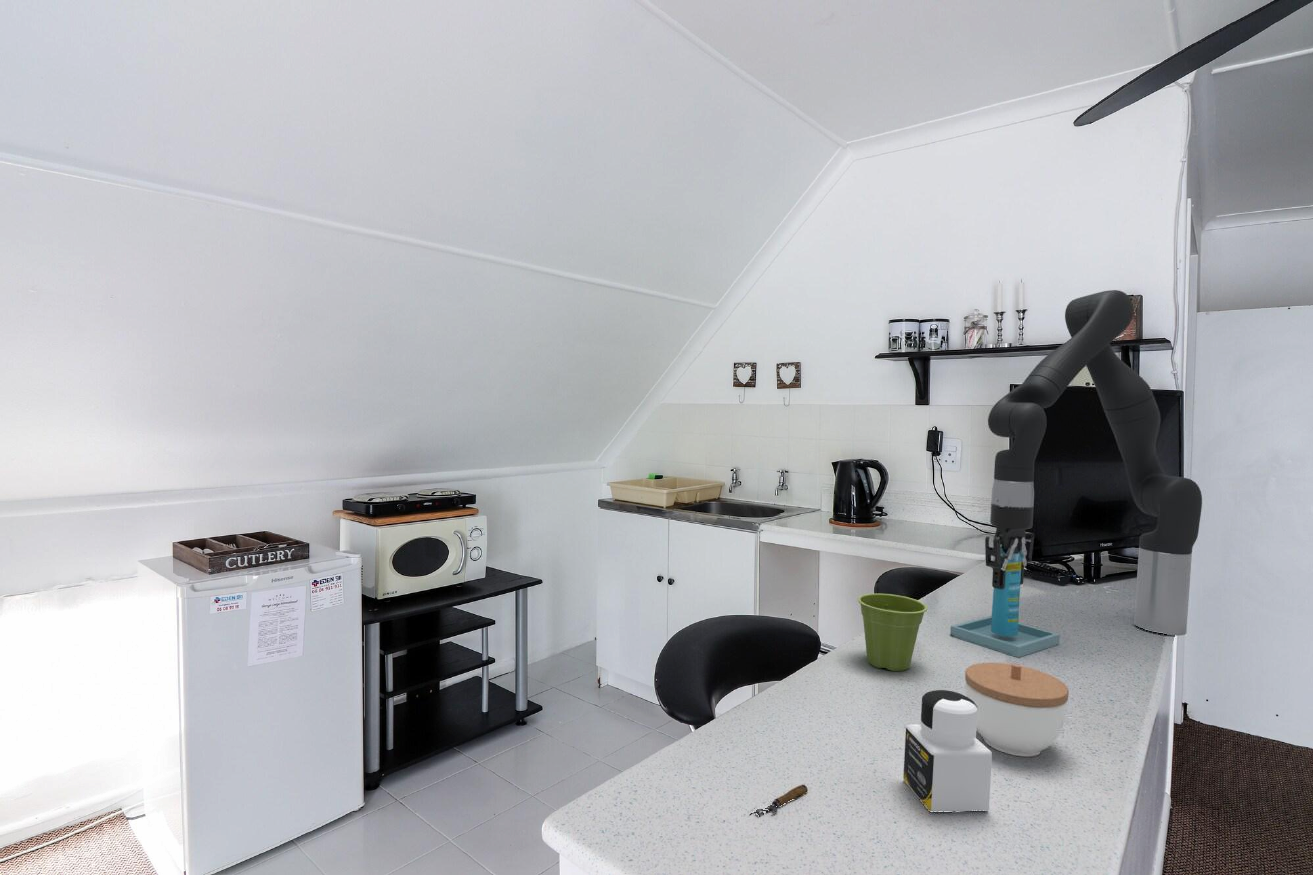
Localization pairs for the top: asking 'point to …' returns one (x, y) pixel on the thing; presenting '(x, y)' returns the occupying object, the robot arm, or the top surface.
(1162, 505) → the robot arm
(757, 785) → the top surface
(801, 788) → the can opener
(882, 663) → the plant pot
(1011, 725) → the lidded bowl
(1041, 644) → the tray
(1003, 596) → the tube
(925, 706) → the medicine bottle
